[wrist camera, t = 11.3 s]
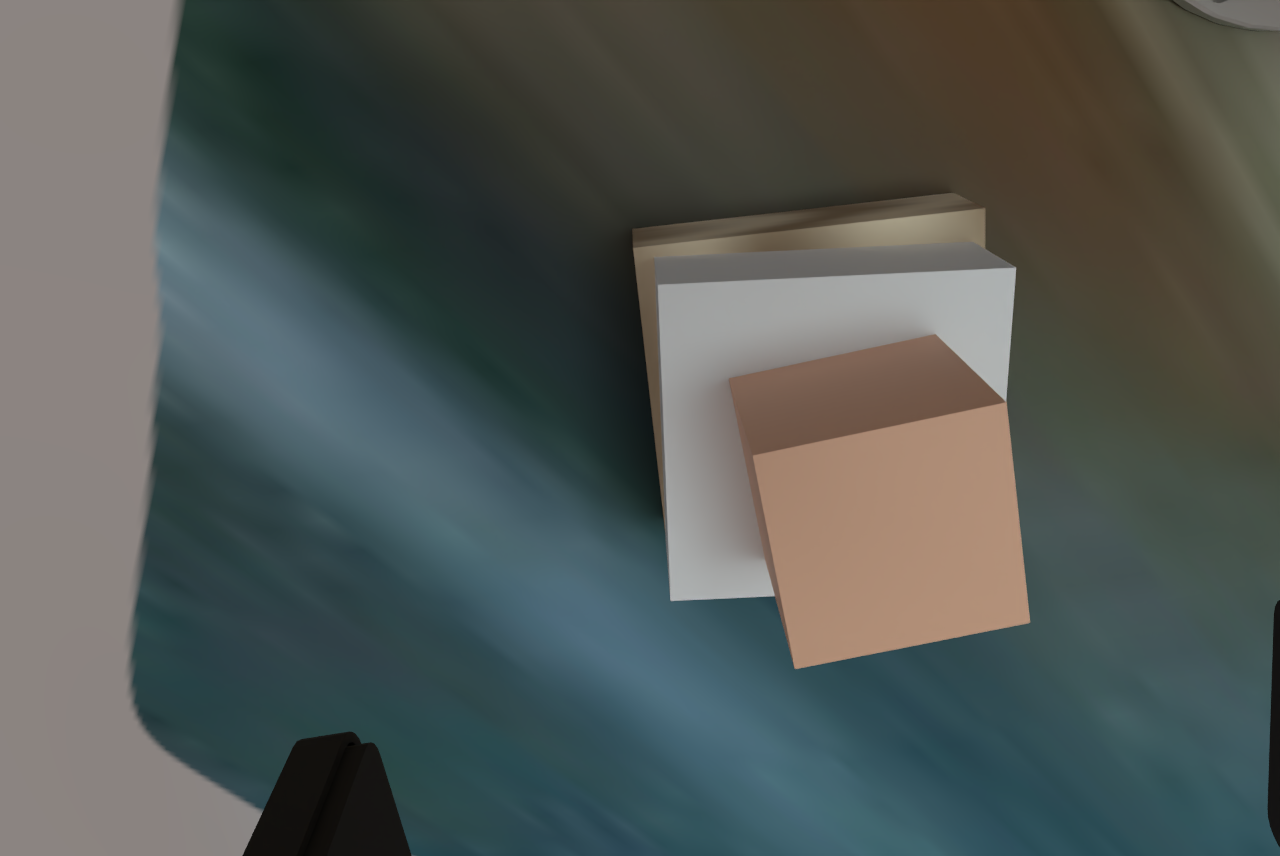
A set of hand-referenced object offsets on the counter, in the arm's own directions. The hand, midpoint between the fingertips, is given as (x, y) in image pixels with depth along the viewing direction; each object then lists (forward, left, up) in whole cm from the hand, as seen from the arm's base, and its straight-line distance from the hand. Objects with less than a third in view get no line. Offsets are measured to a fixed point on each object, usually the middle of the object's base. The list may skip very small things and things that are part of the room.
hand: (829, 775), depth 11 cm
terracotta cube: (-4, +5, -20) cm, 21 cm away
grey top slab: (-4, +4, -24) cm, 25 cm away
